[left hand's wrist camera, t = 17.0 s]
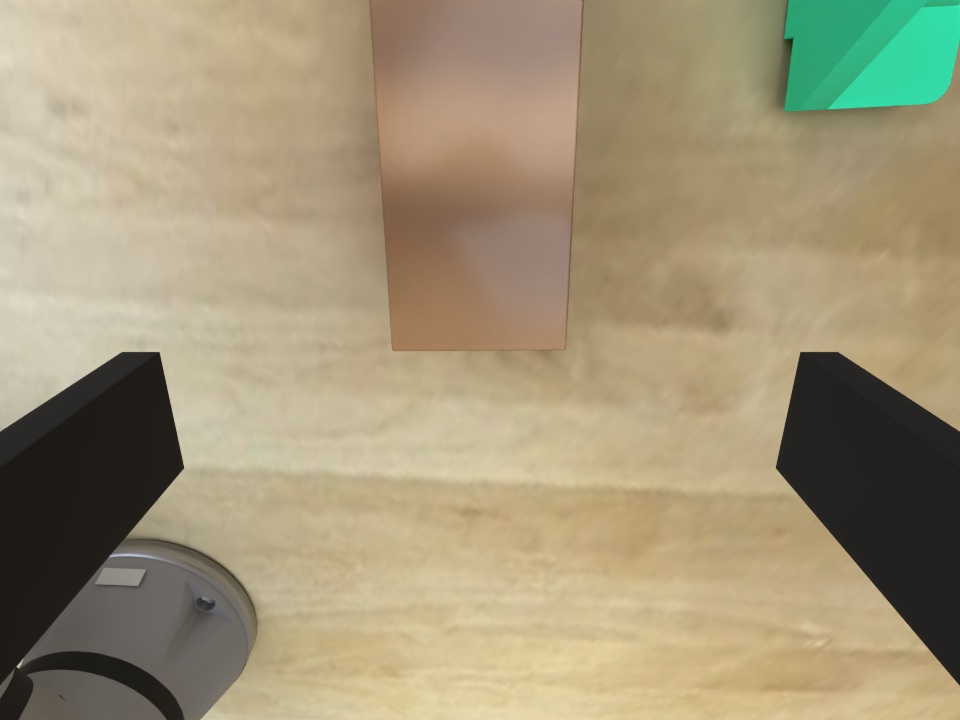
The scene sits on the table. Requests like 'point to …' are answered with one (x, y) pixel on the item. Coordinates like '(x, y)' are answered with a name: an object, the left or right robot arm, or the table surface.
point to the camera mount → (870, 52)
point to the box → (477, 169)
